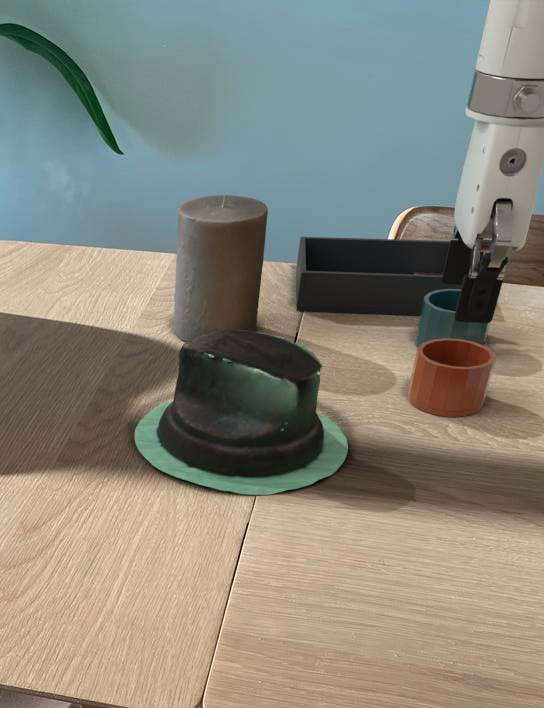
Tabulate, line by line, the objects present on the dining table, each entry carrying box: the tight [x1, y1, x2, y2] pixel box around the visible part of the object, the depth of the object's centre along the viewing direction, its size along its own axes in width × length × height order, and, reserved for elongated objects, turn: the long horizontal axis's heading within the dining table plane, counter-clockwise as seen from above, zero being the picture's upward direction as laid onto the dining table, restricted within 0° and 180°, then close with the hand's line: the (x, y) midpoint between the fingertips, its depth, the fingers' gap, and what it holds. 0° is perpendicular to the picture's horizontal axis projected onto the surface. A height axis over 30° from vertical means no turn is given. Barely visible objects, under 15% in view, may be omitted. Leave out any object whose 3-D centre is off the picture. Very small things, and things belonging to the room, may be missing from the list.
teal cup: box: [414, 289, 492, 348], centre depth 107 cm, size 7×7×5 cm
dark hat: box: [134, 330, 349, 496], centre depth 91 cm, size 15×19×20 cm
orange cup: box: [407, 338, 497, 418], centre depth 96 cm, size 7×7×5 cm
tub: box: [295, 236, 462, 317], centre depth 119 cm, size 19×13×5 cm
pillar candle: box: [173, 194, 269, 343], centre depth 108 cm, size 10×10×15 cm
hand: (464, 301), depth 91 cm, fingers open, 9 cm apart
